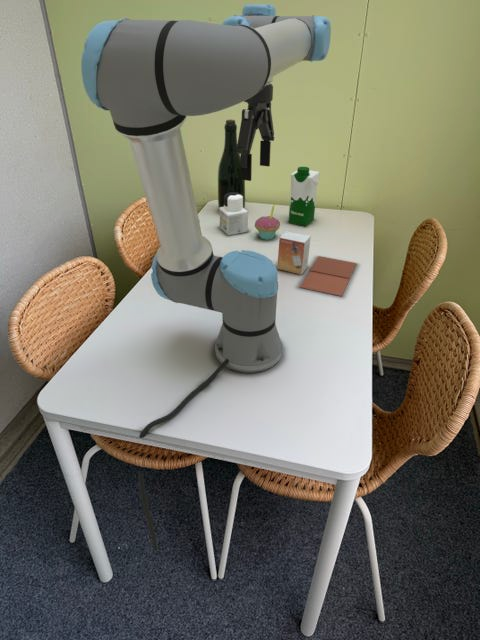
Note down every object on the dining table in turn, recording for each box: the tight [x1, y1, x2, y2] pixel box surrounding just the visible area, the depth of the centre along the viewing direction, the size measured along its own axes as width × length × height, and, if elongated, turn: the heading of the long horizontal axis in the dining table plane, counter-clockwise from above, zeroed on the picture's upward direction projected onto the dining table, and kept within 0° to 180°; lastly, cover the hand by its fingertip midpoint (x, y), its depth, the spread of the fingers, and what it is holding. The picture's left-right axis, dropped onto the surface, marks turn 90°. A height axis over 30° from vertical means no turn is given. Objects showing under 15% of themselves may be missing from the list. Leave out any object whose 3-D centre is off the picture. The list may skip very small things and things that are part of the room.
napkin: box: [299, 255, 357, 297], centre depth 130 cm, size 20×12×1 cm, turn 157°
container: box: [218, 192, 249, 236], centre depth 153 cm, size 8×8×13 cm
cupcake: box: [254, 204, 281, 241], centre depth 149 cm, size 9×8×12 cm
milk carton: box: [288, 166, 320, 227], centre depth 157 cm, size 9×9×20 cm
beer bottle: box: [217, 119, 246, 211], centre depth 162 cm, size 10×10×33 cm
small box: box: [276, 230, 312, 276], centre depth 131 cm, size 8×6×10 cm
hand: (255, 172), depth 118 cm, fingers open, 13 cm apart
